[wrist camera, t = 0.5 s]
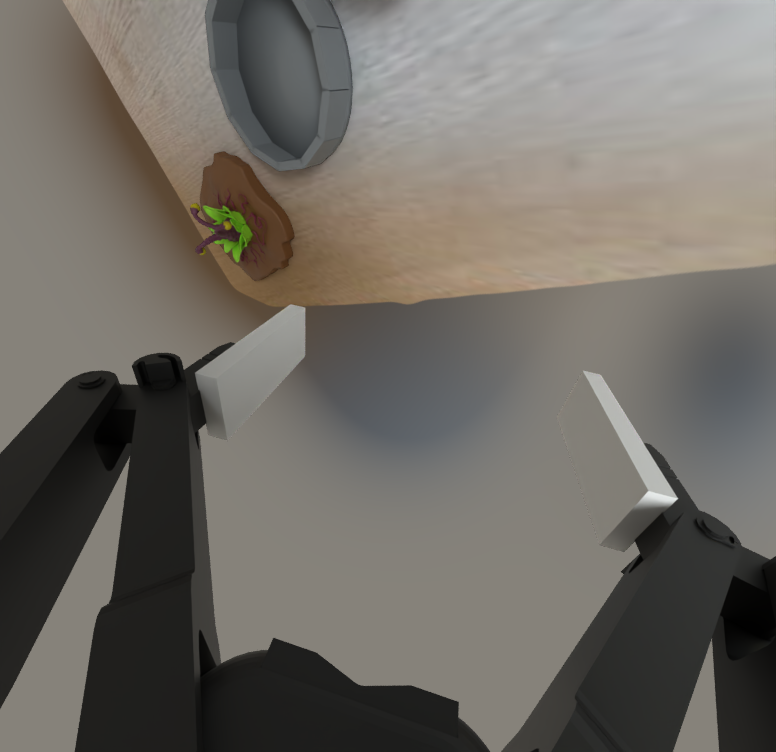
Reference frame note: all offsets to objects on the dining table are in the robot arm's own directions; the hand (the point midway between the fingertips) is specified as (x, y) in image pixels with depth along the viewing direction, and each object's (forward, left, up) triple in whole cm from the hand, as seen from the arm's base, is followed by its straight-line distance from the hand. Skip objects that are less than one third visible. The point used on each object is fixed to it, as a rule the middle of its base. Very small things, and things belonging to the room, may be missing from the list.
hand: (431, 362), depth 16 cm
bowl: (-15, -32, -29) cm, 46 cm away
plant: (+2, -51, -30) cm, 60 cm away
